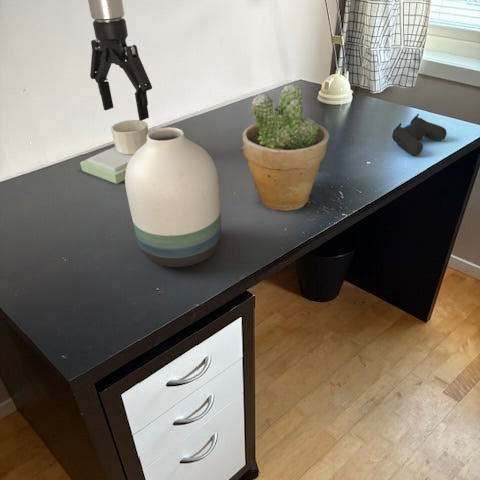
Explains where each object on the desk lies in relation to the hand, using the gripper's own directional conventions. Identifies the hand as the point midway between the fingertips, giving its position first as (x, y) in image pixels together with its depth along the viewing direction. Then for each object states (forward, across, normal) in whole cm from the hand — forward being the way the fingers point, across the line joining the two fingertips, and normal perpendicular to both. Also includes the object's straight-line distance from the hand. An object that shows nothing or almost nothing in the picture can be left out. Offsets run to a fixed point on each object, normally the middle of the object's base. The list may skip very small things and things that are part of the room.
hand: (126, 113), depth 124 cm
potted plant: (+12, -47, -4) cm, 49 cm away
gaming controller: (+12, -60, -51) cm, 80 cm away
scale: (+12, 0, 0) cm, 12 cm away
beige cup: (+9, 0, 0) cm, 9 cm away
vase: (+12, -42, +26) cm, 51 cm away
